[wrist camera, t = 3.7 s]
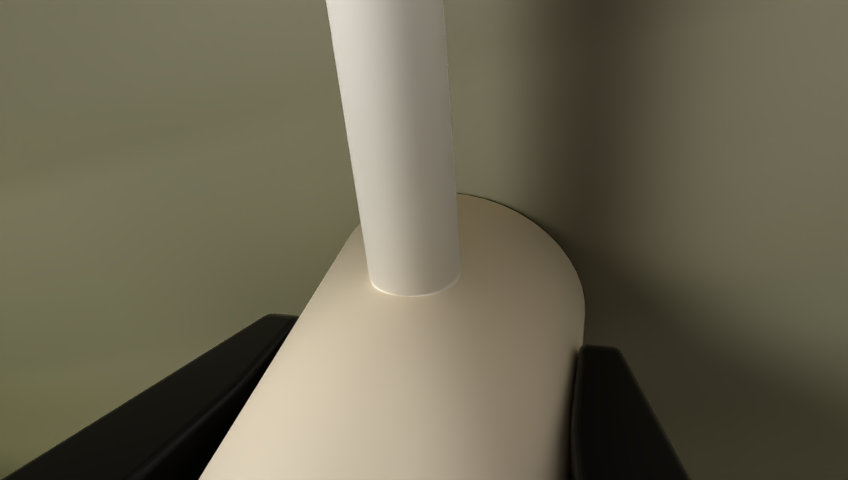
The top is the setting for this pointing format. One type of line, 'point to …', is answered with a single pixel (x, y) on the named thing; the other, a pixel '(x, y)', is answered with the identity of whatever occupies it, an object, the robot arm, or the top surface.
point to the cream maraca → (417, 300)
